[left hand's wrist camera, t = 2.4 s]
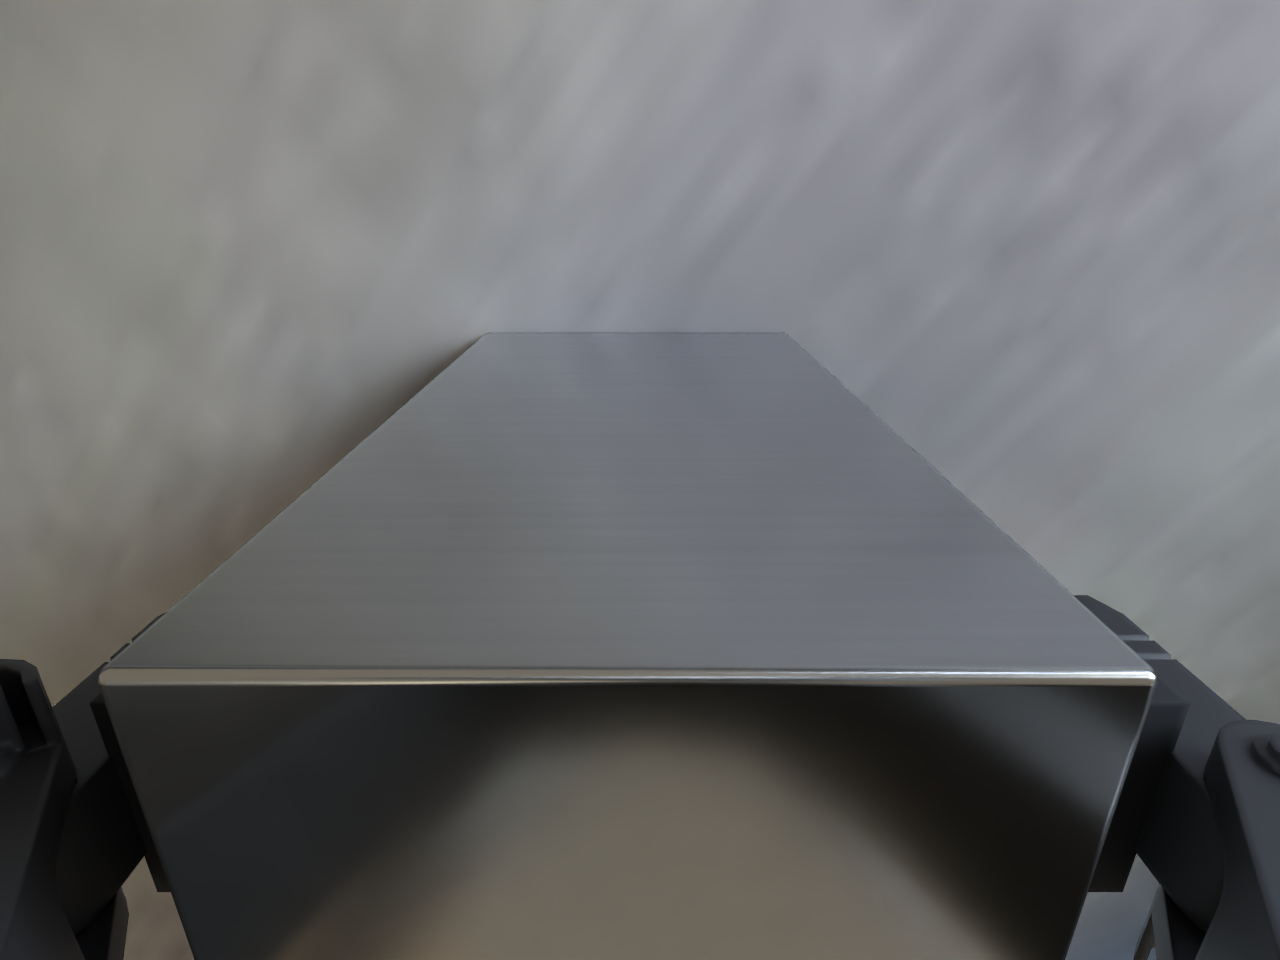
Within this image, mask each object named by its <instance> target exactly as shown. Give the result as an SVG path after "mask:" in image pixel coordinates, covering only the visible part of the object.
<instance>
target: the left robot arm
mask: <svg viewBox="0 0 1280 960" xmlns="http://www.w3.org/2000/svg"><path fill="white" fill-rule="evenodd" d="M1073 596H1074V597H1076V598H1077V599H1078V600H1079V601H1080V602H1081V603H1082V604H1083V605H1084V606H1085V607H1087V608H1088V609H1089V610H1090V611H1091V612H1092V613H1093V614H1094V615H1095V616H1096V617H1097V618H1099V619H1100V620H1101V621H1102V622H1103V623H1104V624H1105V625H1106V626H1107V627H1108V628H1109V629H1111V630H1112V631H1113V632H1114V633H1115V634H1116V635H1117V636H1118V637H1119V638H1120V639H1121V640H1123V641H1124V642H1125V643H1126V644H1127V645H1128V646H1129V647H1130V648H1131V649H1132V650H1133V651H1135V652H1136V653H1137V654H1138V655H1139V656H1140V657H1141V658H1142V659H1143V660H1144V661H1145V662H1147V663H1148V664H1149V665H1150V666H1151V667H1152V668H1153V670H1154V672H1155V674H1156V677H1157V686H1156V689H1155V692H1154V695H1153V698H1152V701H1151V704H1150V707H1149V710H1148V713H1147V716H1146V719H1145V722H1144V725H1143V728H1142V731H1141V734H1140V737H1139V740H1138V743H1137V746H1136V749H1135V752H1134V755H1133V758H1132V761H1131V764H1130V767H1129V770H1128V773H1127V776H1126V779H1125V782H1124V785H1123V788H1122V791H1121V794H1120V797H1119V800H1118V803H1117V806H1116V809H1115V812H1114V815H1113V818H1112V821H1111V824H1110V827H1109V830H1108V833H1107V836H1106V839H1105V842H1104V845H1103V848H1102V851H1101V854H1100V857H1099V860H1098V863H1097V866H1096V869H1095V872H1094V875H1093V878H1092V881H1091V884H1090V887H1089V890H1088V892H1123V889H1124V887H1125V884H1126V881H1127V878H1128V876H1129V873H1130V870H1131V867H1132V864H1133V862H1134V859H1135V856H1136V853H1137V854H1138V855H1139V857H1140V858H1141V859H1142V861H1143V862H1144V863H1145V865H1146V866H1147V867H1148V869H1149V870H1150V871H1151V873H1152V874H1153V875H1154V877H1155V878H1156V879H1157V880H1158V882H1159V883H1160V885H1159V887H1158V890H1157V893H1156V895H1155V898H1154V900H1153V903H1152V906H1151V908H1150V911H1149V913H1148V916H1147V919H1146V921H1145V924H1144V926H1143V929H1142V931H1141V934H1140V937H1139V939H1138V942H1137V945H1136V950H1135V955H1134V960H1147V958H1148V956H1149V953H1150V951H1151V948H1153V947H1156V955H1157V960H1280V724H1274V723H1269V722H1263V721H1257V720H1246V719H1245V718H1243V717H1242V716H1241V715H1240V714H1239V713H1238V712H1236V711H1235V710H1234V709H1233V708H1232V707H1231V706H1229V705H1228V704H1227V703H1226V702H1225V701H1224V700H1223V699H1221V698H1220V697H1219V696H1218V695H1217V694H1216V693H1214V692H1213V691H1212V690H1211V689H1210V688H1209V687H1207V686H1206V685H1205V684H1204V683H1203V682H1202V681H1200V680H1199V679H1198V678H1197V677H1196V676H1195V675H1193V674H1192V673H1191V672H1190V671H1189V670H1188V669H1186V668H1185V667H1184V666H1183V665H1182V664H1181V663H1179V662H1178V661H1177V660H1171V658H1170V654H1169V653H1168V652H1167V651H1165V650H1164V649H1163V648H1162V647H1161V646H1160V645H1158V644H1157V643H1156V642H1155V641H1150V640H1149V636H1148V635H1147V634H1146V633H1145V632H1143V631H1142V630H1141V629H1140V628H1139V627H1138V626H1136V625H1135V624H1134V623H1133V622H1132V621H1131V620H1129V619H1128V618H1127V617H1126V616H1125V615H1124V614H1122V613H1120V612H1118V611H1116V610H1114V609H1112V608H1111V607H1109V606H1107V605H1105V604H1103V603H1101V602H1099V601H1097V600H1095V599H1093V598H1092V597H1090V596H1088V595H1073ZM165 613H166V612H165ZM165 613H163V614H162V615H160V616H158V617H157V618H155V619H154V620H153V621H152V622H151V623H150V624H148V625H147V626H146V627H145V628H144V629H143V630H142V631H140V632H139V633H138V634H137V635H136V636H135V637H133V638H132V642H133V641H134V640H135V639H137V638H138V637H139V636H140V635H141V634H142V633H143V632H145V631H146V630H147V629H148V628H149V627H150V626H151V625H153V624H154V623H155V622H156V621H157V620H158V619H159V618H161V617H162V616H163V615H164V614H165ZM130 644H131V643H127V644H125V645H124V646H123V647H122V648H121V649H120V650H118V651H117V652H116V653H115V654H114V655H113V656H111V657H110V658H111V660H112V659H114V658H115V657H116V656H117V655H118V654H119V653H120V652H122V651H123V650H124V649H125V648H126V647H127V646H129V645H130ZM111 660H110V661H111ZM108 663H109V662H105V663H103V664H102V665H101V666H100V667H99V668H98V669H96V670H95V671H94V672H93V673H92V674H91V675H90V676H88V677H87V678H86V679H85V680H84V681H83V682H81V683H80V684H79V685H78V686H77V687H76V688H75V689H73V690H72V691H71V692H70V693H69V694H68V695H66V696H65V697H64V698H63V699H62V700H61V701H59V702H58V703H57V704H56V705H55V706H54V707H53V708H52V706H51V704H50V701H49V698H48V696H47V693H46V691H45V688H44V685H43V683H42V680H41V678H40V675H39V672H38V670H37V667H36V666H34V665H32V664H30V663H28V662H26V661H24V660H11V659H0V960H123V958H124V950H125V942H126V934H127V926H128V917H129V912H128V907H127V902H126V898H125V895H124V893H123V890H122V887H121V886H122V885H123V883H124V882H125V881H126V879H127V878H128V877H129V875H130V874H131V873H132V871H133V870H134V869H135V867H136V866H137V865H138V863H139V862H140V861H141V859H142V858H143V857H144V856H145V859H146V862H147V864H148V867H149V870H150V873H151V875H152V878H153V881H154V884H155V887H156V889H157V892H171V891H170V888H169V885H168V882H167V879H166V877H165V874H164V871H163V868H162V865H161V862H160V859H159V857H158V854H157V851H156V848H155V845H154V842H153V839H152V837H151V834H150V831H149V828H148V825H147V822H146V820H145V817H144V814H143V811H142V808H141V805H140V802H139V800H138V797H137V794H136V791H135V788H134V785H133V782H132V780H131V777H130V774H129V771H128V768H127V765H126V762H125V760H124V757H123V754H122V751H121V748H120V745H119V743H118V740H117V737H116V734H115V731H114V728H113V725H112V723H111V720H110V717H109V714H108V711H107V708H106V705H105V703H104V700H103V697H102V694H101V691H100V688H99V686H98V679H99V674H100V672H101V670H102V668H103V667H104V666H106V665H107V664H108Z"/></svg>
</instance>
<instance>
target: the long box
mask: <svg viewBox="0 0 1280 960" xmlns="http://www.w3.org/2000/svg"><path fill="white" fill-rule="evenodd" d="M98 686H99V688H100V691H101V694H102V697H103V700H104V703H105V705H106V708H107V711H108V714H109V717H110V720H111V723H112V725H113V728H114V731H115V734H116V737H117V740H118V743H119V745H120V748H121V751H122V754H123V757H124V760H125V762H126V765H127V768H128V771H129V774H130V777H131V780H132V782H133V785H134V788H135V791H136V794H137V797H138V800H139V802H140V805H141V808H142V811H143V814H144V817H145V820H146V822H147V825H148V828H149V831H150V834H151V837H152V839H153V842H154V845H155V848H156V851H157V854H158V857H159V859H160V862H161V865H162V868H163V871H164V874H165V877H166V879H167V882H168V885H169V888H170V891H171V894H172V896H173V899H174V902H175V905H176V908H177V911H178V914H179V916H180V919H181V922H182V925H183V928H184V931H185V933H186V936H187V939H188V942H189V945H190V948H191V951H192V953H193V956H194V959H195V960H1065V958H1066V955H1067V952H1068V949H1069V946H1070V943H1071V940H1072V937H1073V934H1074V931H1075V928H1076V925H1077V922H1078V919H1079V916H1080V913H1081V910H1082V907H1083V904H1084V901H1085V898H1086V895H1087V892H1088V890H1089V887H1090V884H1091V881H1092V878H1093V875H1094V872H1095V869H1096V866H1097V863H1098V860H1099V857H1100V854H1101V851H1102V848H1103V845H1104V842H1105V839H1106V836H1107V833H1108V830H1109V827H1110V824H1111V821H1112V818H1113V815H1114V812H1115V809H1116V806H1117V803H1118V800H1119V797H1120V794H1121V791H1122V788H1123V785H1124V782H1125V779H1126V776H1127V773H1128V770H1129V767H1130V764H1131V761H1132V758H1133V755H1134V752H1135V749H1136V746H1137V743H1138V740H1139V737H1140V734H1141V731H1142V728H1143V725H1144V722H1145V719H1146V716H1147V713H1148V710H1149V707H1150V704H1151V701H1152V698H1153V695H1154V692H1155V689H1156V686H1157V677H1156V674H1155V672H1154V670H1153V668H1152V667H1151V666H1150V665H1149V664H1148V663H1147V662H1145V661H1144V660H1143V659H1142V658H1141V657H1140V656H1139V655H1138V654H1137V653H1136V652H1135V651H1133V650H1132V649H1131V648H1130V647H1129V646H1128V645H1127V644H1126V643H1125V642H1124V641H1123V640H1121V639H1120V638H1119V637H1118V636H1117V635H1116V634H1115V633H1114V632H1113V631H1112V630H1111V629H1109V628H1108V627H1107V626H1106V625H1105V624H1104V623H1103V622H1102V621H1101V620H1100V619H1099V618H1097V617H1096V616H1095V615H1094V614H1093V613H1092V612H1091V611H1090V610H1089V609H1088V608H1087V607H1085V606H1084V605H1083V604H1082V603H1081V602H1080V601H1079V600H1078V599H1077V598H1076V597H1074V596H1073V595H1072V594H1071V593H1070V592H1069V591H1068V590H1067V589H1066V588H1065V587H1064V586H1062V585H1061V584H1060V583H1059V582H1058V581H1057V580H1056V579H1055V578H1054V577H1053V576H1052V575H1050V574H1049V573H1048V572H1047V571H1046V570H1045V569H1044V568H1043V567H1042V566H1041V565H1040V564H1038V563H1037V562H1036V561H1035V560H1034V559H1033V558H1032V557H1031V556H1030V555H1029V554H1028V553H1026V552H1025V551H1024V550H1023V549H1022V548H1021V547H1020V546H1019V545H1018V544H1017V543H1015V542H1014V541H1013V540H1012V539H1011V538H1010V537H1009V536H1008V535H1007V534H1006V533H1005V532H1003V531H1002V530H1001V529H1000V528H999V527H998V526H997V525H996V524H995V523H994V522H993V521H991V520H990V519H989V518H988V517H987V516H986V515H985V514H984V513H983V512H982V511H981V510H979V509H978V508H977V507H976V506H975V505H974V504H973V503H972V502H971V501H970V500H969V499H967V498H966V497H965V496H964V495H963V494H962V493H961V492H960V491H959V490H958V489H957V488H955V487H954V486H953V485H952V484H951V483H950V482H949V481H948V480H947V479H946V478H944V477H943V476H942V475H941V474H940V473H939V472H938V471H937V470H936V469H935V468H934V467H932V466H931V465H930V464H929V463H928V462H927V461H926V460H925V459H924V458H923V457H922V456H920V455H919V454H918V453H917V452H916V451H915V450H914V449H913V448H912V447H911V446H910V445H908V444H907V443H906V442H905V441H904V440H903V439H902V438H901V437H900V436H899V435H898V434H896V433H895V432H894V431H893V430H892V429H891V428H890V427H889V426H888V425H887V424H885V423H884V422H883V421H882V420H881V419H880V418H879V417H878V416H877V415H876V414H875V413H873V412H872V411H871V410H870V409H869V408H868V407H867V406H866V405H865V404H864V403H863V402H861V401H860V400H859V399H858V398H857V397H856V396H855V395H854V394H853V393H852V392H851V391H849V390H848V389H847V388H846V387H845V386H844V385H843V384H842V383H841V382H840V381H839V380H837V379H836V378H835V377H834V376H833V375H832V374H831V373H830V372H829V371H828V370H826V369H825V368H824V367H823V366H822V365H821V364H820V363H819V362H818V361H817V360H816V359H814V358H813V357H812V356H811V355H810V354H809V353H808V352H807V351H806V350H805V349H804V348H802V347H801V346H800V345H799V344H798V343H797V342H796V341H795V340H794V339H793V338H792V337H790V336H789V335H788V334H787V333H486V334H485V335H484V336H483V337H481V338H480V339H479V340H478V341H477V342H476V343H475V344H473V345H472V346H471V347H470V348H469V349H468V350H466V351H465V352H464V353H463V354H462V355H461V356H460V357H458V358H457V359H456V360H455V361H454V362H453V363H452V364H450V365H449V366H448V367H447V368H446V369H445V370H444V371H442V372H441V373H440V374H439V375H438V376H437V377H436V378H434V379H433V380H432V381H431V382H430V383H429V384H428V385H426V386H425V387H424V388H423V389H422V390H421V391H420V392H418V393H417V394H416V395H415V396H414V397H413V398H411V399H410V400H409V401H408V402H407V403H406V404H405V405H403V406H402V407H401V408H400V409H399V410H398V411H397V412H395V413H394V414H393V415H392V416H391V417H390V418H389V419H387V420H386V421H385V422H384V423H383V424H382V425H381V426H379V427H378V428H377V429H376V430H375V431H374V432H373V433H371V434H370V435H369V436H368V437H367V438H366V439H365V440H363V441H362V442H361V443H360V444H359V445H358V446H356V447H355V448H354V449H353V450H352V451H351V452H350V453H348V454H347V455H346V456H345V457H344V458H343V459H342V460H340V461H339V462H338V463H337V464H336V465H335V466H334V467H332V468H331V469H330V470H329V471H328V472H327V473H326V474H324V475H323V476H322V477H321V478H320V479H319V480H318V481H316V482H315V483H314V484H313V485H312V486H311V487H310V488H308V489H307V490H306V491H305V492H304V493H303V494H302V495H300V496H299V497H298V498H297V499H296V500H295V501H293V502H292V503H291V504H290V505H289V506H288V507H287V508H285V509H284V510H283V511H282V512H281V513H280V514H279V515H277V516H276V517H275V518H274V519H273V520H272V521H271V522H269V523H268V524H267V525H266V526H265V527H264V528H263V529H261V530H260V531H259V532H258V533H257V534H256V535H255V536H253V537H252V538H251V539H250V540H249V541H248V542H247V543H245V544H244V545H243V546H242V547H241V548H240V549H238V550H237V551H236V552H235V553H234V554H233V555H232V556H230V557H229V558H228V559H227V560H226V561H225V562H224V563H222V564H221V565H220V566H219V567H218V568H217V569H216V570H214V571H213V572H212V573H211V574H210V575H209V576H208V577H206V578H205V579H204V580H203V581H202V582H201V583H200V584H198V585H197V586H196V587H195V588H194V589H193V590H192V591H190V592H189V593H188V594H187V595H186V596H185V597H183V598H182V599H181V600H180V601H179V602H178V603H177V604H175V605H174V606H173V607H172V608H171V609H170V610H169V611H167V612H166V613H165V614H164V615H163V616H162V617H161V618H159V619H158V620H157V621H156V622H155V623H154V624H153V625H151V626H150V627H149V628H148V629H147V630H146V631H145V632H143V633H142V634H141V635H140V636H139V637H138V638H137V639H135V640H134V641H133V642H132V643H131V644H130V645H129V646H127V647H126V648H125V649H124V650H123V651H122V652H120V653H119V654H118V655H117V656H116V657H115V658H114V659H112V660H111V661H110V662H109V663H108V664H107V665H106V666H104V667H103V668H102V670H101V672H100V674H99V679H98Z"/></svg>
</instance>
